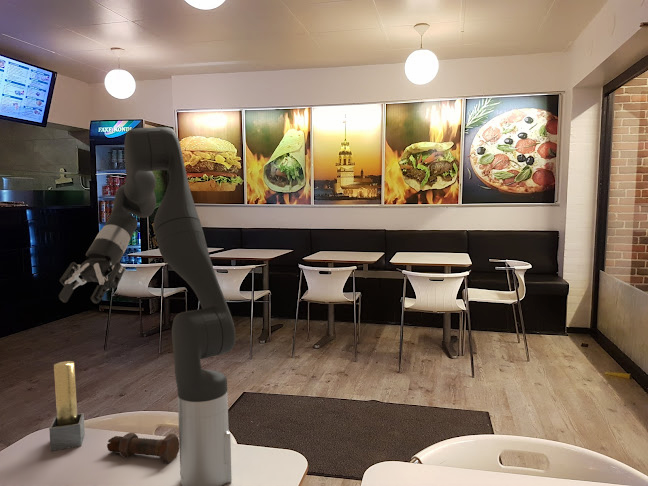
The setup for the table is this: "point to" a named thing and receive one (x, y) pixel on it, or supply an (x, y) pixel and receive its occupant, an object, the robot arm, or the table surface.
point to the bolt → (145, 446)
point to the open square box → (67, 434)
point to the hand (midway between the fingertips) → (78, 300)
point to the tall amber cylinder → (65, 393)
